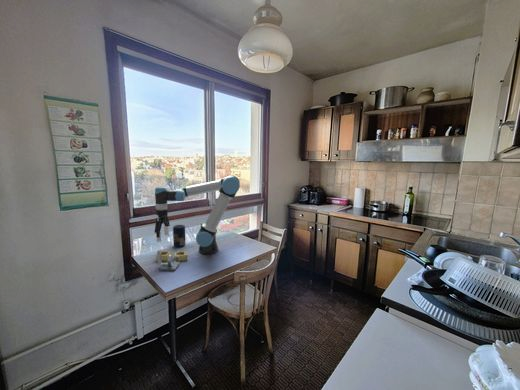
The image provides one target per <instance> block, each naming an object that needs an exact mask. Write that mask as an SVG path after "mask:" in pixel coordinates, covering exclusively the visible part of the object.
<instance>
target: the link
mask: <svg viewBox="0 0 520 390" xmlns="http://www.w3.org/2000/svg"><path fill="white" fill-rule="evenodd" d="M161 251H162V262H168V255H171V257H172V256H173V255H172V254H173V253H172V250H161ZM155 261H156V262H158V258H157V254H156V255H155Z"/></svg>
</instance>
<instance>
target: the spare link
mask: <svg viewBox="0 0 520 390" xmlns="http://www.w3.org/2000/svg"><path fill="white" fill-rule="evenodd" d="M173 253H174V257H173V258H174V262H184V261H188V253H187V251H186V250H181V251H175V252H173Z"/></svg>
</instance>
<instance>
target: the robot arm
mask: <svg viewBox="0 0 520 390" xmlns="http://www.w3.org/2000/svg"><path fill="white" fill-rule="evenodd" d="M240 184H241V181H240V179H239V178H238V177H237V176H235V175H228V176H226V177H222V178H219V180H213V181H209V182H204V183H203V182H202V183H198V184H192V185H188V186H181V187H178V188H177V189H174V190H171V189H167V186H156V187H155V189H154V199H155V200H154V201H155V204H154V205H155V215H156V216H157V217H155V226H154V234H156V242H157V243H158V242H159V243H160V242H162V233H161V230H162V225H163V227H164V229H163V230H164V236H169V227H170V224H171V223H170V220H169V217H168V216H169V215H168V212H169V211H168V202H184V201H185V199H186V197H192V196H198V195H203V194H208V193H213V192H217V191H218V193H219V194H218V195H219V196H218V197H217V200H215V203H214V205H213V207H212V209H211V211H210V213H209V215H208V217H207V219H206V221H204V222H201V223H200V224H199V225H200V229H199V231H198V232H197V234H196V237H195V241H196V243H197V245H199V247H198V253H199V254H201V255H212V254H213V255H214V254H216V253H217V252H219V246H218V244H217V243H218V242H217V240H216V239H217V233H218V229H217V228H218V226H219V224H220V222H221V219H222V218H223V216H224V214H225V212H226V210H227V208H228V206H229V204H230V201H231V200H232V199H235V197H236V195H237V192H238V191H239V190H240V187H241V185H240Z"/></svg>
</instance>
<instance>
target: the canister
mask: <svg viewBox="0 0 520 390" xmlns="http://www.w3.org/2000/svg"><path fill="white" fill-rule="evenodd" d="M172 233H173V234H172V235H173V238H172V239H173V241H172V243H173V246H174V247H177V248H180V247H184V246H185V245H186V226H185V225H184V224H175V225H174V226H173V227H172Z"/></svg>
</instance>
